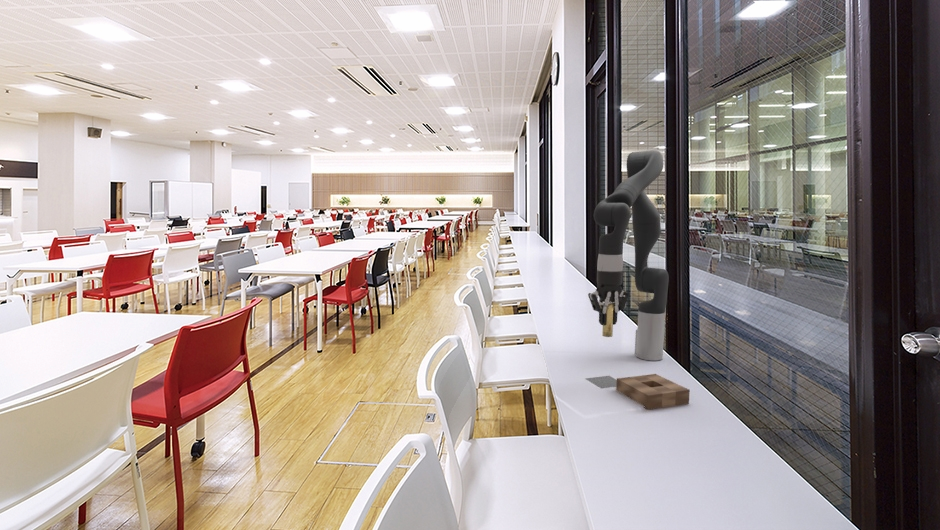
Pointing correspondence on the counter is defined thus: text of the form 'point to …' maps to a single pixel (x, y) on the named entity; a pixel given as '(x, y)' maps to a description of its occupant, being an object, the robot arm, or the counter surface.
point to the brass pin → (608, 321)
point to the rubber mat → (603, 381)
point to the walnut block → (653, 391)
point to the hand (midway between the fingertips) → (607, 324)
